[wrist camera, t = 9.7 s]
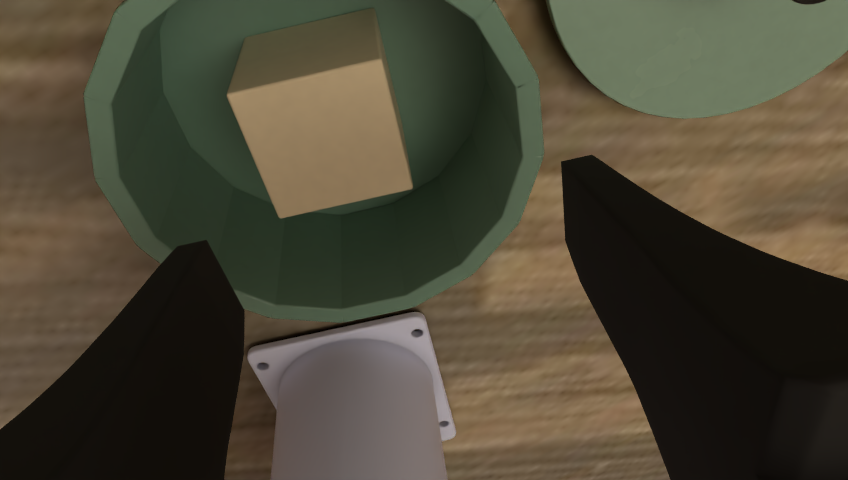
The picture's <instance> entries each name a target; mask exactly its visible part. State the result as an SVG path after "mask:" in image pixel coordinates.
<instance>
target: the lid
mask: <svg viewBox="0 0 848 480" xmlns="http://www.w3.org/2000/svg"><path fill="white" fill-rule="evenodd" d="M546 4H547V7H548V11H549V15H550V18H551V22H552V24H553V27H554V29H555V31H556V34H557V36H558V38H559V40H560V43H561V44H562V46H563V48H564V49H565V51H566V52H567V54H568V56H569V57H570V59H571V60H572V62H573V63H574V64H575V66H576V67H577V68H578V69H579V70H580V72H581V73H582V74H583V75H584V76H585V77H586V78H587V80H588V81H589V82H590V83H591V84H593V85H594V86H595V87H596V88H598V89H599V90H600V91H601V92H602V93H604V94H605V95H606V96H608V97H610V98H611V99H613V100H615V101H617V102H618V103H620V104H622V105H624V106H626V107H629V108H632V109H634V110H637V111H639V112H642V113H647V114H651V115H656V116H660V117H670V118H682V119H685V118H705V117H711V116H717V115H723V114H728V113H732V112H736V111H739V110H743V109H746V108H750V107H752V106H755V105H758V104H760V103H763V102H765V101H768V100H770V99H773V98H775V97H777V96H779V95H781V94H783V93H785V92H787V91H789V90H791V89H793V88H795V87H797V86H798V85H800V84H801V83H803V82H805V81H806V80H808V79H810V78H811V77H813V76H814V75H816V74H818V73H819V72H820V71H822V70H823V69H825V68H826V67H827V66H829V65H830V64H831V63H833V62H834V61H835V60H837V59H838V58H839V57H841V56H842V55H843V54H844V53H845V52H847V51H848V0H546Z"/></svg>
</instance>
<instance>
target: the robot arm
mask: <svg viewBox="0 0 848 480" xmlns="http://www.w3.org/2000/svg"><path fill="white" fill-rule="evenodd" d="M561 167H562V186H563V205H564V223H565V241H566V244H567V247H568V250H569V252H570V255H571V258H572V261H573V264H574V266H575V269H576V272H577V274H578V277H579V280H580V282H581V284H582V286H583V288H584V290H585V292H586V294H587V296H588V298H589V300H590V302H591V303H592V305H593V307H594V309H595V311H596V313H597V315H598V317H599V319H600V321H601V323H602V324H603V326H604V328H605V330H606V332H607V334H608V336H609V338H610V340H611V341H612V343H613V345H614V347H615V349H616V351H617V353H618V355H619V357H620V358H621V360H622V362H623V364H624V366H625V368H626V370H627V372H628V374H629V376H630V378H631V380H632V383H633V385H634V387H635V389H636V392H637V394H638V397H639V399H640V402H641V404H642V407H643V409H644V412H645V414H646V417H647V419H648V422H649V424H650V427H651V429H652V432H653V434H654V437H655V440H656V442H657V445H658V448H659V450H660V453H661V456H662V458H663V461H664V463H665V466H666V469H667V471H668V474H669V477H670V479H671V480H848V281H847V280H843V279H840V278H837V277H834V276H830V275H827V274H824V273H821V272H818V271H815V270H812V269H809V268H806V267H803V266H800V265H798V264H795V263H792V262H789V261H786V260H783V259H781V258H778V257H775V256H773V255H770V254H768V253H765V252H763V251H760V250H758V249H756V248H753V247H751V246H749V245H746V244H744V243H742V242H740V241H737V240H735V239H733V238H730V237H728V236H726V235H724V234H722V233H720V232H718V231H716V230H714V229H712V228H710V227H708V226H706V225H704V224H702V223H700V222H698V221H697V220H695V219H693V218H691V217H689V216H687V215H685V214H684V213H682V212H680V211H678V210H677V209H675V208H673V207H671V206H670V205H668V204H666V203H665V202H663V201H661V200H660V199H658V198H656V197H655V196H653V195H652V194H650V193H648V192H647V191H645V190H644V189H642V188H641V187H639V186H638V185H636V184H635V183H633V182H632V181H630V180H629V179H627V178H626V177H624V176H623V175H621V174H620V173H618V172H617V171H615V170H614V169H612V168H611V167H609V166H608V165H606V164H605V163H604V162H602V161H601V160H599V159H598V158H596V157H595V156H593V155H589V156H584V157H580V158H575V159H571V160H566V161H562V162H561ZM415 329H420V330H418V331H414V330H415ZM243 355H244V309H243V307H242V305H241V303H240V301H239V299H238V297H237V295H236V294H235V292H234V290H233V288H232V286H231V284H230V282H229V281H228V279H227V277H226V275H225V273H224V271H223V269H222V268H221V266H220V264H219V262H218V260H217V258H216V256H215V254H214V253H213V251H212V249H211V247H210V245H209V243H208V241H207V240H203V241H198V242H194V243H189V244H185V245H180V246H177V247H176V248H175V249H174V250H173V251H172V252H171V253H170V254H169V255H168V257H167V258H166V259H165V260H164V261H163V262H162V263H161V265H160V266H159V267H158V268H157V269H156V271H155V272H154V273H153V274H152V275H151V277H150V278H149V279H148V280H147V281H146V283H145V284H144V285H143V286H142V287H141V289H140V290H139V291H138V292H137V293H136V294H135V296H134V297H133V298H132V299H131V300H130V302H129V303H128V304H127V305H126V306H125V307H124V309H123V310H122V311H121V312H120V313H119V315H118V316H117V317H116V318H115V319H114V320H113V322H112V323H111V324H110V325H109V326H108V327H107V328H106V329H105V330H104V331H103V332H102V334H101V335H100V336H99V337H98V338H97V339H96V340H95V341H94V342H93V343H92V344H91V345H90V347H89V348H88V349H87V350H86V351H85V352H84V353H83V354H82V355H81V356H80V357H79V359H78V360H77V361H76V362H75V363H74V364H73V365H72V366H71V367H70V368H69V369H68V370H67V371H66V372H65V373H64V374H63V375H62V376H61V377H60V378H58V379H57V380H56V381H55V382H54V383H53V384H52V385H51V386H50V387H49V388H48V389H47V390H46V391H45V392H43V393H42V394H41V395H40V396H39V397H38V398H37V399H36V400H35V401H34V402H33V403H31V404H30V405H29V406H28V407H27V408H26V409H25V410H23V411H22V412H21V413H20V414H19V415H17V416H16V417H15V418H14V419H12V420H11V421H10V422H9V423H8V424H6V425H5V426H4V427H3V428H1V429H0V480H224V473H225V465H226V457H227V450H228V444H229V438H230V433H231V427H232V421H233V415H234V409H235V404H236V398H237V392H238V386H239V380H240V374H241V368H242V361H243ZM247 359H248V362H249V363H250V365H251V367H252V369H253V370H254V372H255V374H256V376H257V377H258V379H259V381H260V382H261V384H262V386H263V388H264V389H265V391H266V393H267V395H268V396H269V398H270V400H271V402H272V403H273V405H274V407H275V408H276V410H277V415H276V426H275V437H274V448H273V459H272V470H271V480H448V479H447V473H446V466H445V460H444V453H443V447H442V441H445V440H449V439H452V438H453V437H454V436H455V435H456V429H455V425H454V421H453V417H452V414H451V410H450V406H449V403H448V399H447V395H446V392H445V388H444V384H443V381H442V377H441V373H440V370H439V366H438V362H437V359H436V355H435V351H434V348H433V344H432V340H431V337H430V333H429V329H428V326H427V322H426V318H425V316H424V315H423V314H422V313H420V312H410V313H405V314H401V315H396V316H391V317H387V318H382V319H378V320H373V321H368V322H364V323H359V324H354V325H350V326H345V327H341V328H336V329H331V330H327V331H322V332H317V333H313V334H308V335H304V336H299V337H294V338H290V339H285V340H280V341H276V342H271V343H267V344H262V345H257V346H254V347H252V348H250V349H249V351H248V356H247ZM263 362H264V363H263Z"/></svg>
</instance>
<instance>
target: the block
mask: <svg viewBox="0 0 848 480" xmlns="http://www.w3.org/2000/svg"><path fill="white" fill-rule="evenodd" d="M227 98H228V101H229V103H230V105H231V108H232V110H233V112H234V115H235V117H236V119H237V122H238V124H239V126H240V129H241V131H242V133H243V136H244V138H245V140H246V143H247V145H248V147H249V150H250V152H251V154H252V157H253V159H254V161H255V164H256V166H257V168H258V171H259V173H260V175H261V178H262V180H263V182H264V185H265V187H266V189H267V192H268V194H269V196H270V199H271V201H272V203H273V206H274V208H275V210H276V213H277V215H278V217H279V218H285V217H290V216H294V215H299V214H303V213H308V212H312V211H317V210H321V209H326V208H330V207H335V206H339V205H344V204H348V203H353V202H357V201H362V200H366V199H371V198H375V197H379V196H384V195H388V194H393V193H397V192H402V191H406V190H411V189H412V188H413V182H412V177H411V171H410V166H409V160H408V154H407V149H406V143H405V137H404V132H403V126H402V121H401V117H400V113H399V108H398V104H397V100H396V96H395V92H394V88H393V83H392V79H391V75H390V71H389V67H388V62H387V58H386V54H385V50H384V46H383V41H382V37H381V33H380V29H379V25H378V21H377V16H376V12H375V9H374V8H369V9H365V10H361V11H356V12H352V13H348V14H344V15H339V16H335V17H331V18H326V19H322V20H318V21H314V22H309V23H305V24H301V25H296V26H292V27H288V28H283V29H279V30H275V31H271V32H266V33H262V34H258V35H253V36H249V37H246V38H245V39H244V42H243V45H242V48H241V51H240V54H239V57H238V60H237V64H236V67H235V70H234V73H233V76H232V79H231V82H230V85H229V88H228V91H227Z"/></svg>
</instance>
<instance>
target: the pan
mask: <svg viewBox="0 0 848 480" xmlns="http://www.w3.org/2000/svg"><path fill="white" fill-rule="evenodd" d="M369 8H374V9H375V12H376V16H377V21H378V25H379V29H380V33H381V37H382V41H383V46H384V50H385V54H386V58H387V62H388V67H389V71H390V75H391V79H392V83H393V88H394V92H395V96H396V100H397V104H398V108H399V113H400V117H401V121H402V126H403V132H404V137H405V143H406V149H407V154H408V160H409V166H410V171H411V177H412V182H413V188H412V189H411V190H406V191H402V192H397V193H393V194H388V195H384V196H379V197H375V198H371V199H366V200H362V201H357V202H353V203H348V204H344V205H339V206H335V207H330V208H326V209H321V210H317V211H312V212H308V213H303V214H299V215H294V216H290V217H285V218H279V217H278V215H277V213H276V210H275V208H274V206H273V203H272V201H271V199H270V196H269V194H268V192H267V189H266V187H265V185H264V182H263V180H262V178H261V175H260V173H259V171H258V168H257V166H256V164H255V161H254V159H253V157H252V154H251V152H250V150H249V147H248V145H247V143H246V140H245V138H244V136H243V133H242V131H241V129H240V126H239V124H238V122H237V119H236V117H235V115H234V112H233V110H232V108H231V105H230V103H229V101H228V98H227V91H228V88H229V85H230V82H231V79H232V76H233V73H234V70H235V67H236V64H237V60H238V57H239V54H240V51H241V48H242V45H243V42H244V39H245V38H246V37H249V36H253V35H258V34H262V33H266V32H271V31H275V30H279V29H283V28H288V27H292V26H296V25H301V24H305V23H309V22H314V21H318V20H322V19H326V18H331V17H335V16H339V15H344V14H348V13H352V12H356V11H361V10H365V9H369ZM83 94H84V105H85V112H86V120H87V127H88V134H89V142H90V149H91V156H92V164H93V171H94V177H95V181H96V182H97V184H98V185H99V187H100V189H101V190H102V192H103V193H104V195H105V196H106V198H107V200H108V201H109V203H110V204H111V206H112V207H113V209H114V211H115V212H116V214H117V215H118V217H119V218H120V220H121V222H122V223H123V225H124V226H125V228H126V229H127V231H128V233H129V234H130V236H131V237H132V239H133V240H134V242H135V244H136V245H137V246H139V248H140V249H142V250H143V251H144V252H146V253H147V254H148V255H150V256H151V257H152V258H154V259H155V260H156V261H158V262H159V263H160V264H161V263H162V262H163V261H164V260H165V259H166V258H167V257H168V255H169V254H170V253H171V252H172V251H173V250H174V249H175V248H176V247H177V246H180V245H185V244H189V243H194V242H198V241H203V240H207V241H208V243H209V245H210V247H211V249H212V251H213V253H214V254H215V256H216V258H217V260H218V262H219V264H220V266H221V268H222V269H223V271H224V273H225V275H226V277H227V279H228V281H229V282H230V284H231V286H232V288H233V290H234V292H235V294H236V295H237V297H238V299H239V301H240V303H241V305H242V307H243V309H246V310H249V311H252V312H254V313H257V314H260V315H263V316H266V317H269V318H270V317H271V318H274V319H290V320H306V321H322V322H338V323H342V322H349V321H354V320H359V319H363V318H368V317H372V316H377V315H382V314H386V313H391V312H396V311H400V310H405V309H409V308H412V307H415V306H417V305H419V304H421V303H423V302H424V301H426V300H428V299H430V298H432V297H433V296H435V295H437V294H439V293H441V292H442V291H444V290H446V289H448V288H450V287H451V286H453V285H455V284H457V283H459V282H460V281H462V280H464V279H466V278H468V277H469V276H471V275H472V274H473V273H475V272H476V271H477V269H478V268H479V267H480V266H481V265H482V264H483V263H484V262H485V261H486V260H487V258H488V257H489V256H490V255H491V254H492V253H493V252H494V251H495V250H496V248H497V247H498V246H499V245H500V244H501V243H502V242H503V241H504V240H505V238H506V237H507V236H508V235H509V234H510V233H511V232H512V231H513V230H514V228H515V227H516V226H517V225H518V224H519V221H520V220H521V217H522V214H523V212H524V209H525V206H526V203H527V201H528V198H529V195H530V193H531V190H532V187H533V184H534V182H535V179H536V176H537V173H538V171H539V168H540V165H541V163H542V160H543V155H544V142H543V129H542V116H541V103H540V89H539V79H538V75H537V73H536V72H535V70H534V68H533V67H532V65H531V63H530V61H529V60H528V58H527V56H526V54H525V53H524V51H523V49H522V47H521V46H520V44H519V42H518V40H517V39H516V37H515V35H514V33H513V32H512V30H511V28H510V26H509V25H508V23H507V21H506V19H505V18H504V16H503V14H502V12H501V11H500V9H499V7H498V5H497V4H496V2H495V0H124V1H123V2H122V3H121V4H120V6H119V7H118V8H117V9H116V11H115V12H114V14H113V16H112V19H111V22H110V24H109V27H108V30H107V32H106V35H105V38H104V40H103V43H102V46H101V48H100V51H99V54H98V56H97V59H96V62H95V64H94V67H93V69H92V72H91V75H90V77H89V80H88V83H87V85H86V88H85V91H84V93H83Z"/></svg>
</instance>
